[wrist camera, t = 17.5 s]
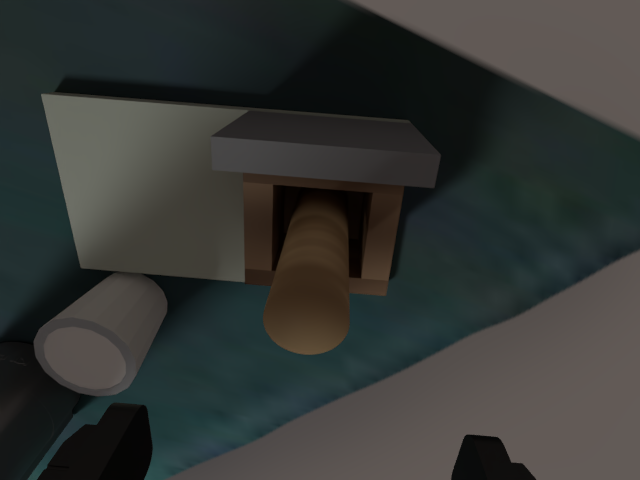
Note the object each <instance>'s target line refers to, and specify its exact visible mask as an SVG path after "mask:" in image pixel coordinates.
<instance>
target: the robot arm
mask: <svg viewBox="0 0 640 480" xmlns="http://www.w3.org/2000/svg"><path fill="white" fill-rule="evenodd" d="M79 398H80V393H78V392H75V391H73V390H71V389H69V388H67V387H65V386H63V385H60V384H59V383H58V382H57V381H55V380H54V379H53V378H52V377H51V376H49V375H48V374H47V373H46V372H45V371H44V369H43V368H42V366H41V365H40V363H39V361H38V360H37V358H36V356H35V349H34V345H31V344H27V343H21V342H4V343H0V480H27V479H28V478H29V476H30V475H31V474H32V472H33V471H34V470H35V468H36V467H37V465H38V464H39V463H40V461H41V460H42V459H43V457H44V456H45V454H46V453H47V452H48V450H49V449H50V448H51V446H52V445H53V444H54V442H55V441H56V439H57V438H58V437H59V435H60V434H61V433H62V431H63V430H64V428H65V427H66V426H67V424H68V423H69V422H70V420H71V419H72V418H73V413H72V409H73V408H74V407H75V405H76V404H77V403H78V400H79ZM152 450H153V446H152V438H151V431H150V425H149V418H148V411H147V407H146V406H145V405H137V404H126V403H113V404H111V405H110V406H109V407H108V409H107V410H106V412H105V413H104V415H103V416H102V418H101V419H100V421H99V422H98V424H97V425H89V424H85V425H84V426H83V427H81V428H80V429H79V430H78V431H77V432H75V433H74V434H73V435H72V436H71V437H69V438H68V439H67V440H66V441H65V442H63V444H62V445H61V447H60V448H59V449H58V451H57V452H56V454H55V455H54V456H53V458H52V459H51V461H50V462H49V463H48V466H47V469H46V470H45V469H44V471H43V472H42V473H41V475H40V476H39V478H38V479H37V480H144V478H145V476H146V474H147V471H148V469H149V465H150V462H151V457H152ZM451 480H536V479H535V477H534V476H533V475H532V474H531V473H530V472H529V470H528V469H527V468H526V467H525V466H524V465H523V464H522V463H511V461H510V458H509V456H508V454H507V451H506V449H505V447H504V445H503V443H502V441H501V440H500V439H499V438H498V437H491V436H480V435H466V436H465V437H464V439H463V442H462V445H461V448H460V451H459V455H458V457H457V460H456V463H455V466H454V469H453V472H452V478H451Z"/></svg>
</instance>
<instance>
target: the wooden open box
mask: <svg viewBox="0 0 640 480" xmlns="http://www.w3.org/2000/svg"><path fill="white" fill-rule="evenodd" d="M301 187H308V188H321V189H333V190H345V191H346V192H347V196H348V244H349V293H358V294H370V295H381V296H386V292H387V286H388V280H389V274H390V269H391V263H392V257H393V251H394V245H395V239H396V233H397V227H398V222H399V216H400V210H401V204H402V198H403V192H404V186H401V185H389V184H377V183H365V182H352V181H340V180H328V179H316V178H303V177H291V176H279V175H267V174H254V173H243V203H244V261H245V284H253V285H265V286H272V282H273V279H274V276H275V272H276V269H277V265H278V262H279V259H280V255H281V252H282V248H283V245H284V242H285V238H286V235H287V231H288V228H289V225H290V221H291V218H292V214H293V211H294V207H295V204H296V201H297V197H298V194H299V191H300V189H301Z"/></svg>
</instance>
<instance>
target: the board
mask: <svg viewBox="0 0 640 480" xmlns="http://www.w3.org/2000/svg"><path fill="white" fill-rule="evenodd" d="M41 95H42V100H43V104H44V108H45V113H46V117H47V122H48V126H49V130H50V135H51V139H52V144H53V148H54V152H55V157H56V161H57V166H58V170H59V174H60V179H61V183H62V188H63V192H64V196H65V201H66V205H67V210H68V214H69V218H70V223H71V227H72V232H73V236H74V240H75V245H76V249H77V254H78V258H79V262H80V267H81V268H85V269H97V270H108V271H120V272H132V273H143V274H155V275H167V276H178V277H190V278H202V279H213V280H225V281H237V282H245V261H244V203H243V173H242V172H230V171H218V170H212V155H211V136H212V135H213V134H215V133H216V132H218V131H219V130H221V129H222V128H224V127H225V126H227V125H228V124H230V123H231V122H233V121H234V120H236V119H237V118H239V117H240V116H242V115H243V114H245V113H246V112H248V111H262V112H275V113H287V114H300V115H312V116H325V117H338V118H350V119H363V120H375V121H388V122H401V123H411V122H410V121H409V120H400V119H387V118H375V117H362V116H349V115H337V114H324V113H312V112H299V111H286V110H274V109H261V108H249V107H236V106H223V105H211V104H198V103H186V102H173V101H160V100H148V99H135V98H122V97H110V96H97V95H85V94H72V93H59V92H51V93H44V94H41Z"/></svg>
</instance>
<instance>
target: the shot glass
mask: <svg viewBox="0 0 640 480" xmlns="http://www.w3.org/2000/svg"><path fill="white" fill-rule="evenodd" d="M166 313H167V299H166V297H165V295H164V292H163V290H162V289H161V288H160V287H159V286H158V285H157V284H156V283H155V282H154V281H153V280H151V279H150V278H148V277H146V276H144V275H142V274H140V273H132V272H116V273H113V274H112V275H110V276H109V277H107V278H105V279H104V280H103V281H101V282H100V283H99V284H97V285H96V286H95V287H94V288H92V289H91V290H90V291H88V292H87V293H86V294H84V295H83V296H82V297H80V298H79V299H78V300H76V301H75V302H74V303H72V304H71V305H70V306H68V307H67V308H66V309H65V310H63V311H62V312H61V313H59V314H58V315H57V316H55V317H54V318H53V319H51V320H50V321H49V322H47V323H46V324H45V325H43V326H42V327H41V328H40V329H39V331H38V333H37V335H36V337H35V339H34V349H35V356H36V358H37V360H38V361H39V363H40V365H41V366H42V368H43V369H44V371H45V372H46V373H47V374H48V375H49V376H51V377H52V378H53V379H54V380H55V381H57V382H58V383H59V384H60V385H63V386H65V387H67V388H69V389H71V390H73V391H75V392H78V393H82V394H87V395H92V396H107V395H115V394H117V393H119V392H121V391H123V390H125V389H127V388H128V387H129V386H130V384H131V383H132V381H133V379H134V378H135V376H136V374H137V372H138V370H139V368H140V366H141V364H142V362H143V360H144V358H145V356H146V354H147V352H148V350H149V348H150V346H151V344H152V342H153V340H154V338H155V336H156V334H157V332H158V330H159V328H160V326H161V323H162V321H163V319H164V317H165V315H166Z"/></svg>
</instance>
